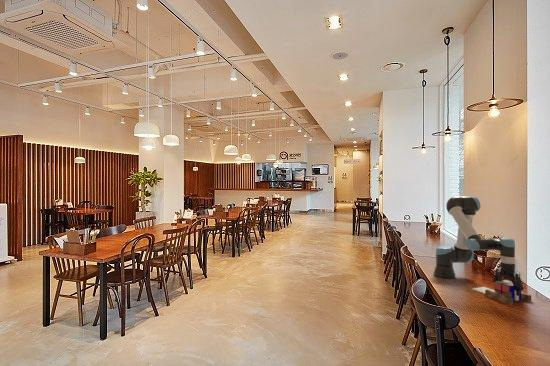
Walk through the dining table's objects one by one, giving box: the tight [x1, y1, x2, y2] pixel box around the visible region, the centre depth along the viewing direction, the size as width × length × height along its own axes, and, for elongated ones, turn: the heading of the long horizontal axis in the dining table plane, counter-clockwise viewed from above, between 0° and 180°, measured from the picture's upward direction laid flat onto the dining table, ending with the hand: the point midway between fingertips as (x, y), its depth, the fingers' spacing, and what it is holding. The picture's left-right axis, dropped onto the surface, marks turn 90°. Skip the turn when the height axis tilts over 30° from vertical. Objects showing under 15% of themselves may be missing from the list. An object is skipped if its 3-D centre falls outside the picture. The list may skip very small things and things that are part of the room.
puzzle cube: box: [494, 279, 522, 303], centre depth 195 cm, size 10×10×10 cm
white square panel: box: [471, 286, 495, 295], centre depth 208 cm, size 11×11×1 cm
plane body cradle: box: [484, 279, 532, 306], centre depth 195 cm, size 16×18×9 cm
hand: (507, 297), depth 195 cm, fingers closed on puzzle cube, 10 cm apart
